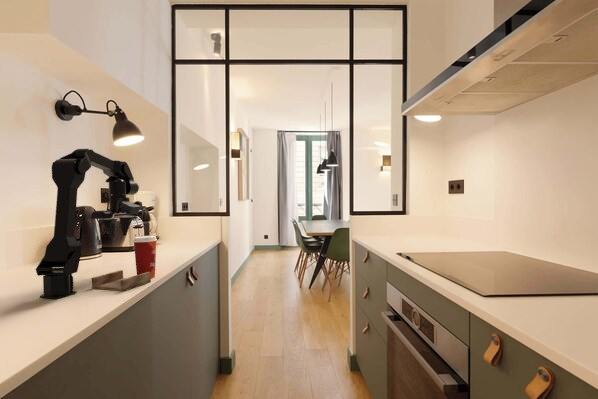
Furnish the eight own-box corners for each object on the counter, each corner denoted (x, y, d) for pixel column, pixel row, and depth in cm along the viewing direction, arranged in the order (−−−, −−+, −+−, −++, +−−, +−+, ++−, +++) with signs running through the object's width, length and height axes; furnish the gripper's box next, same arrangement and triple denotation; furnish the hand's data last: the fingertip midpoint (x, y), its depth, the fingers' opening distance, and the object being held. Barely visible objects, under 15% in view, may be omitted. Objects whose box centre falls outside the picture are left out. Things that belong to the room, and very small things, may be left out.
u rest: (124, 291, 103) (123, 280, 103) (91, 288, 107) (91, 277, 107) (150, 281, 114) (150, 272, 114) (120, 279, 118) (120, 270, 118)
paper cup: (160, 277, 119) (159, 236, 119) (136, 281, 115) (134, 238, 115) (155, 273, 126) (154, 234, 126) (132, 276, 122) (130, 236, 121)
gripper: (114, 194, 119) (115, 240, 119) (153, 194, 137) (154, 234, 137) (89, 195, 122) (90, 239, 123) (130, 194, 140) (131, 233, 140)
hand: (118, 236), depth 131 cm, fingers open, 5 cm apart
